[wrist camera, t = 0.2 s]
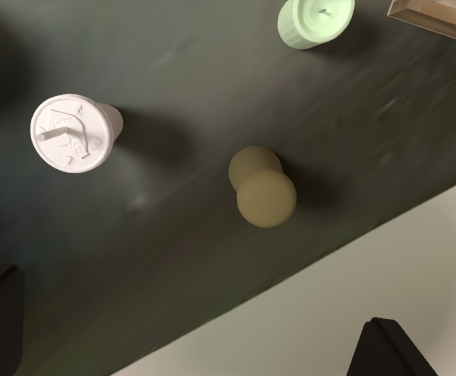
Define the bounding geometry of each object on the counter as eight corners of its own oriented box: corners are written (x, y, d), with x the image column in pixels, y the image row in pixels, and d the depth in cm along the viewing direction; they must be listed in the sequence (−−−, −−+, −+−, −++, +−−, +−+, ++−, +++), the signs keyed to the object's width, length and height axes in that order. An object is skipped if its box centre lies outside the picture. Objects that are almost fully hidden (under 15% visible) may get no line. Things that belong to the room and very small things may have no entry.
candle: (325, 49, 36) (355, 40, 29) (276, 50, 36) (293, 41, 28) (328, -6, 35) (361, -31, 27) (277, -5, 35) (295, -30, 27)
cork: (284, 146, 39) (309, 170, 29) (279, 198, 41) (301, 238, 30) (229, 144, 39) (234, 168, 28) (227, 196, 41) (231, 237, 30)
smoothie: (112, 78, 37) (52, 77, 23) (148, 132, 38) (111, 159, 25) (62, 111, 37) (-24, 129, 24) (99, 162, 39) (39, 205, 26)
